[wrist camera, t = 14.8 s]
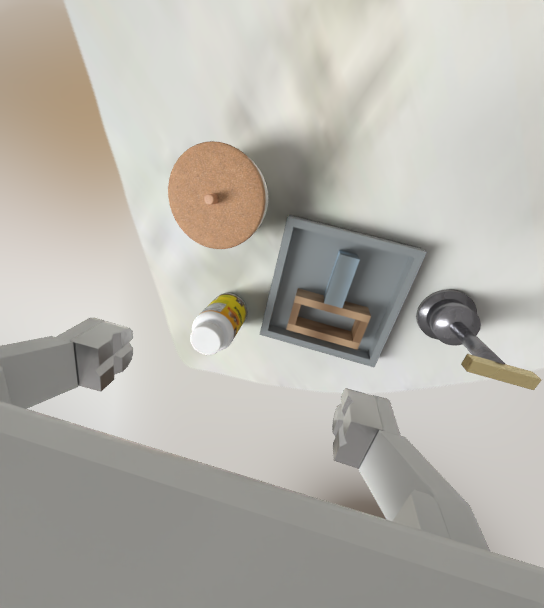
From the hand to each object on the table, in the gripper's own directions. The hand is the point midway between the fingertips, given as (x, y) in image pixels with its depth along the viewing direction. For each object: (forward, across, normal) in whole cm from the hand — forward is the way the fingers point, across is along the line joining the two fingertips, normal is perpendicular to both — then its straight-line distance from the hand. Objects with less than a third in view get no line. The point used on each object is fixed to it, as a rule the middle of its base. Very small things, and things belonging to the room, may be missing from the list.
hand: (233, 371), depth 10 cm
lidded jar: (+30, +9, -3) cm, 32 cm away
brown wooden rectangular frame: (+29, -7, +6) cm, 30 cm away
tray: (+30, -7, +6) cm, 31 cm away
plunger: (+30, -22, +6) cm, 37 cm away
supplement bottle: (+30, +8, +13) cm, 33 cm away
